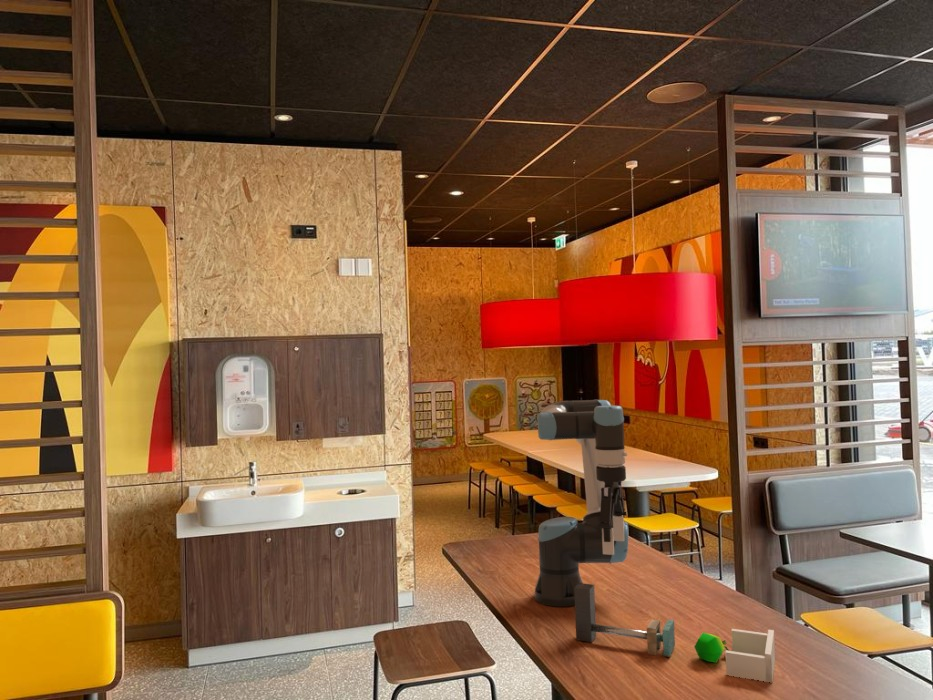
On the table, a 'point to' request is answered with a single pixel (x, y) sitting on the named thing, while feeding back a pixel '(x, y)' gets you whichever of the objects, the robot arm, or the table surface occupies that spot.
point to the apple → (710, 647)
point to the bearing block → (653, 637)
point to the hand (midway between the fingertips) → (614, 547)
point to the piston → (588, 626)
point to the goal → (751, 655)
